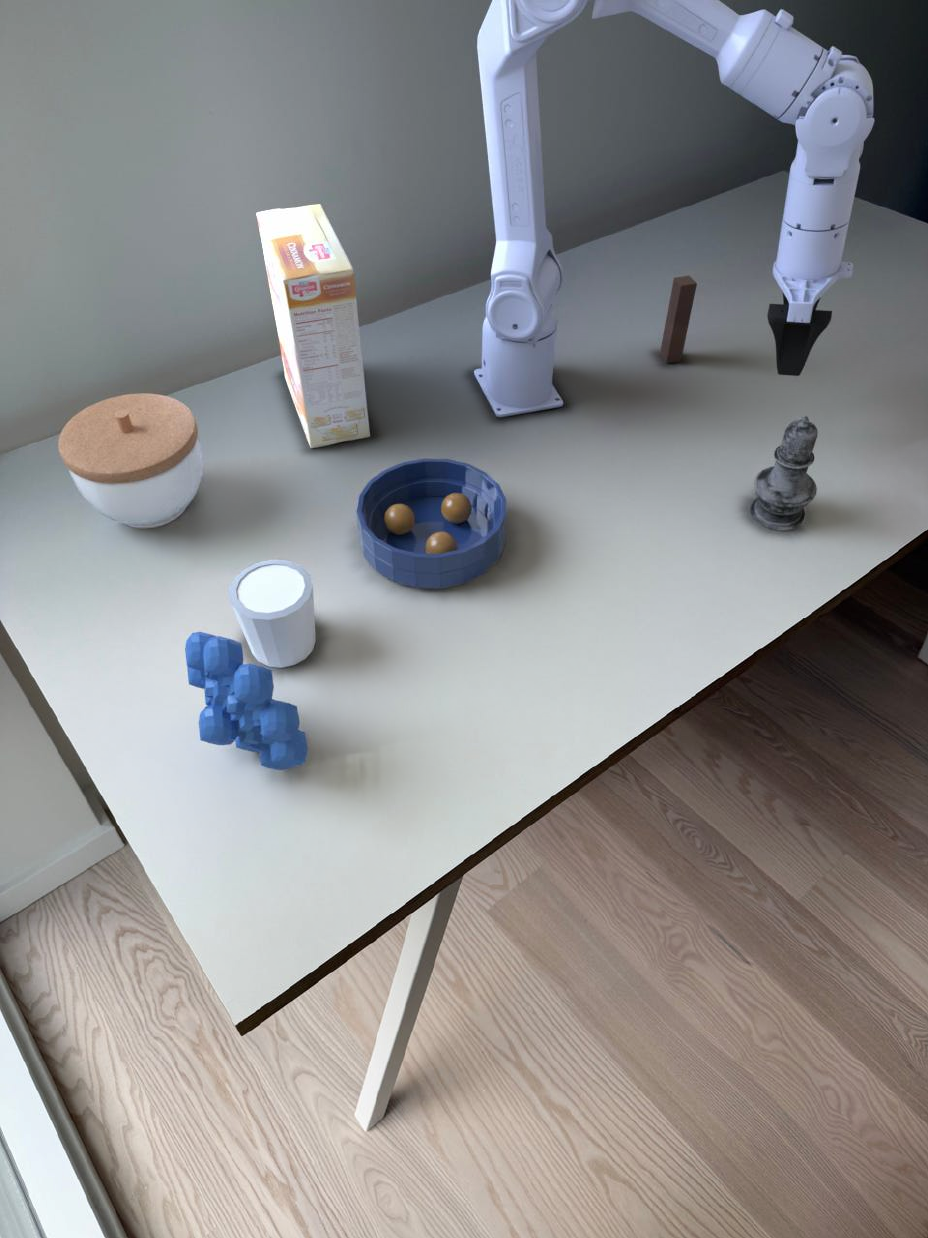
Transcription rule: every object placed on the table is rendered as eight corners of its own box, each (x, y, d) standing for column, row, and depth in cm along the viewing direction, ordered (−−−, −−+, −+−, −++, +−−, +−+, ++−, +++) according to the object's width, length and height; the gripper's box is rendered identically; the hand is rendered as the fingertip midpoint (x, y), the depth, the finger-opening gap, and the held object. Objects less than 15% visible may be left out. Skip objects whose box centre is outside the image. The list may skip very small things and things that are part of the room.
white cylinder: (246, 616, 80) (231, 560, 75) (323, 611, 81) (313, 555, 76) (240, 676, 76) (224, 621, 71) (321, 670, 76) (311, 616, 71)
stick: (659, 355, 109) (673, 277, 101) (674, 352, 109) (689, 274, 102) (666, 363, 108) (681, 285, 100) (681, 361, 108) (697, 283, 100)
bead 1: (381, 523, 88) (379, 500, 86) (411, 518, 88) (410, 494, 86) (388, 543, 86) (386, 520, 84) (418, 537, 86) (417, 514, 84)
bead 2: (437, 512, 89) (437, 489, 87) (466, 507, 89) (466, 484, 87) (445, 532, 87) (445, 509, 85) (475, 526, 88) (475, 503, 85)
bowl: (348, 507, 90) (343, 472, 87) (480, 482, 93) (481, 447, 89) (378, 605, 81) (374, 570, 78) (524, 574, 84) (526, 539, 80)
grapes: (169, 743, 71) (126, 647, 62) (233, 690, 75) (201, 592, 66) (268, 825, 66) (237, 734, 57) (332, 765, 70) (312, 670, 61)
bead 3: (422, 551, 85) (421, 528, 83) (452, 545, 86) (452, 522, 84) (430, 573, 83) (429, 549, 81) (461, 566, 84) (461, 543, 82)
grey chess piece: (809, 535, 87) (842, 440, 78) (747, 529, 88) (772, 434, 79) (806, 494, 91) (838, 398, 81) (747, 489, 92) (771, 393, 82)
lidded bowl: (238, 480, 93) (216, 389, 85) (173, 560, 85) (142, 468, 77) (133, 455, 96) (102, 365, 88) (62, 530, 88) (20, 439, 80)
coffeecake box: (283, 376, 106) (254, 210, 91) (341, 365, 107) (322, 201, 93) (308, 450, 96) (280, 279, 82) (372, 437, 98) (356, 267, 83)
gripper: (860, 256, 75) (830, 395, 85) (865, 186, 84) (837, 319, 94) (773, 252, 77) (753, 389, 87) (787, 184, 86) (767, 315, 96)
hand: (792, 353), depth 90 cm, fingers open, 7 cm apart
